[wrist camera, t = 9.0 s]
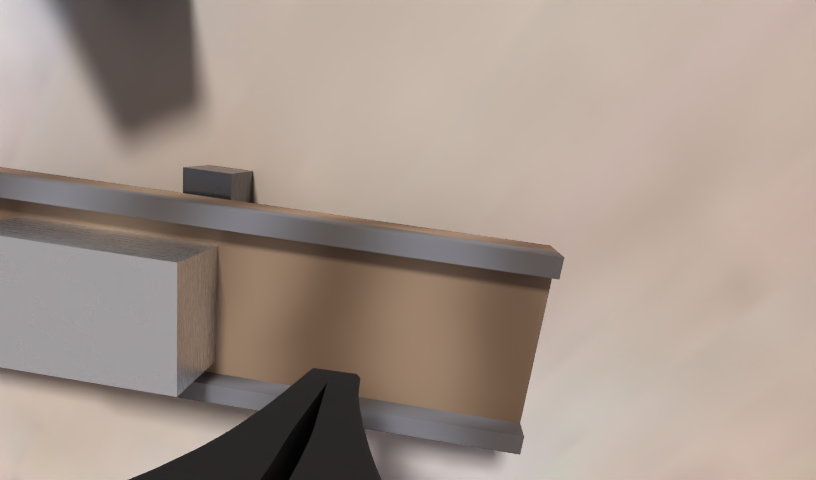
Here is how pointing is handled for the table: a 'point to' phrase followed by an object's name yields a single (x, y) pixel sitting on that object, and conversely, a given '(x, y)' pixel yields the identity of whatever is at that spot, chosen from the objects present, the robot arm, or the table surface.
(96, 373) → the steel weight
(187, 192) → the pivot stand
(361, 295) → the beam
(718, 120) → the table surface
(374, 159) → the table surface
